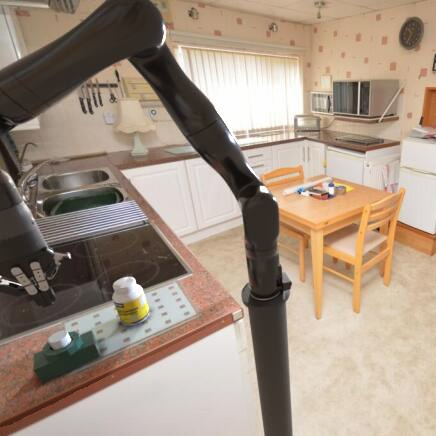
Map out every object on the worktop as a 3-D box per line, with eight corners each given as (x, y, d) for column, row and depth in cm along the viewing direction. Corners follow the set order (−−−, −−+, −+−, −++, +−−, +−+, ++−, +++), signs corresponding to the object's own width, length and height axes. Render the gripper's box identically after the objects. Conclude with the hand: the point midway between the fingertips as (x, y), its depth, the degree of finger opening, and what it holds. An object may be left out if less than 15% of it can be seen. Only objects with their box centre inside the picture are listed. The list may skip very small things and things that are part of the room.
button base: (97, 341, 70) (88, 322, 67) (100, 358, 66) (92, 339, 63) (41, 365, 64) (29, 346, 61) (41, 385, 60) (29, 366, 57)
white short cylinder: (71, 335, 64) (67, 328, 63) (72, 344, 62) (68, 337, 61) (52, 343, 62) (47, 335, 61) (52, 353, 60) (48, 345, 59)
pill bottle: (115, 324, 75) (100, 289, 69) (134, 306, 80) (122, 272, 75) (137, 328, 74) (124, 293, 68) (155, 310, 79) (144, 276, 74)
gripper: (55, 211, 57) (86, 281, 65) (-47, 232, 49) (3, 309, 57) (57, 225, 52) (91, 298, 60) (-56, 251, 44) (0, 332, 52)
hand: (48, 303), depth 59 cm, fingers closed
